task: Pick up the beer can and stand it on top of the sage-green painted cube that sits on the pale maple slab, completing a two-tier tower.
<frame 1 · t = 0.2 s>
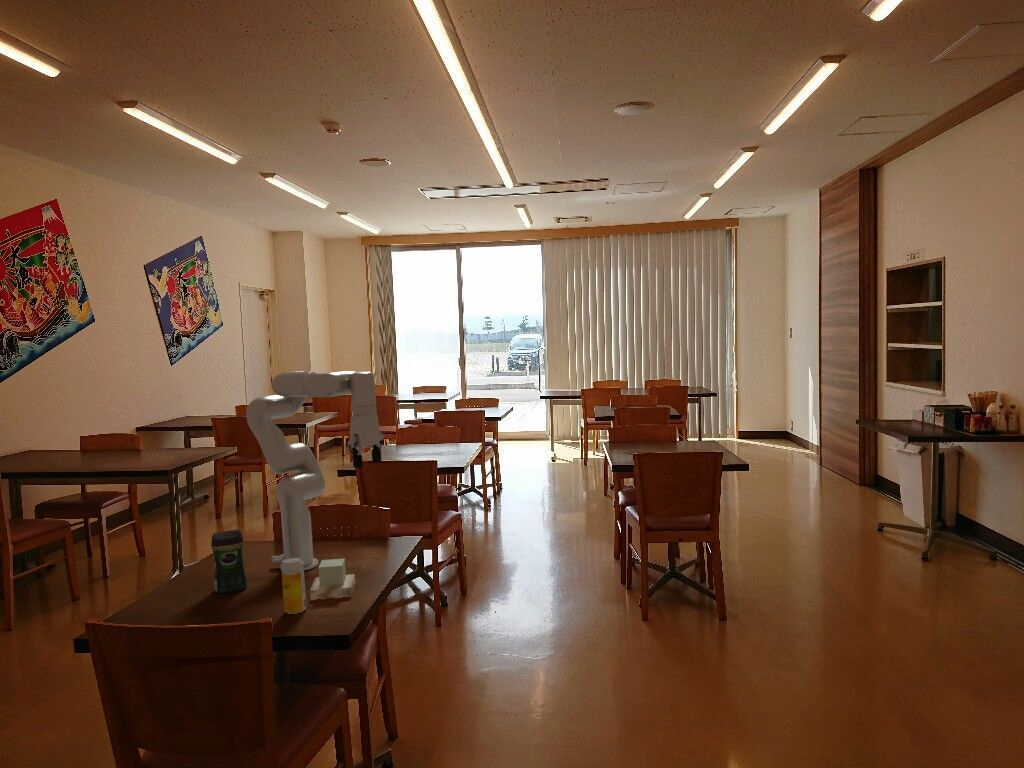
hand: (367, 464, 233), 37 cm above the table, tool pointing down, fingers open, 9 cm apart
coffee jar: (231, 589, 232), on the table
cube: (333, 582, 226), point 3 cm above the table, touching slab
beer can: (295, 612, 211), on the table
slab: (333, 591, 226), on the table
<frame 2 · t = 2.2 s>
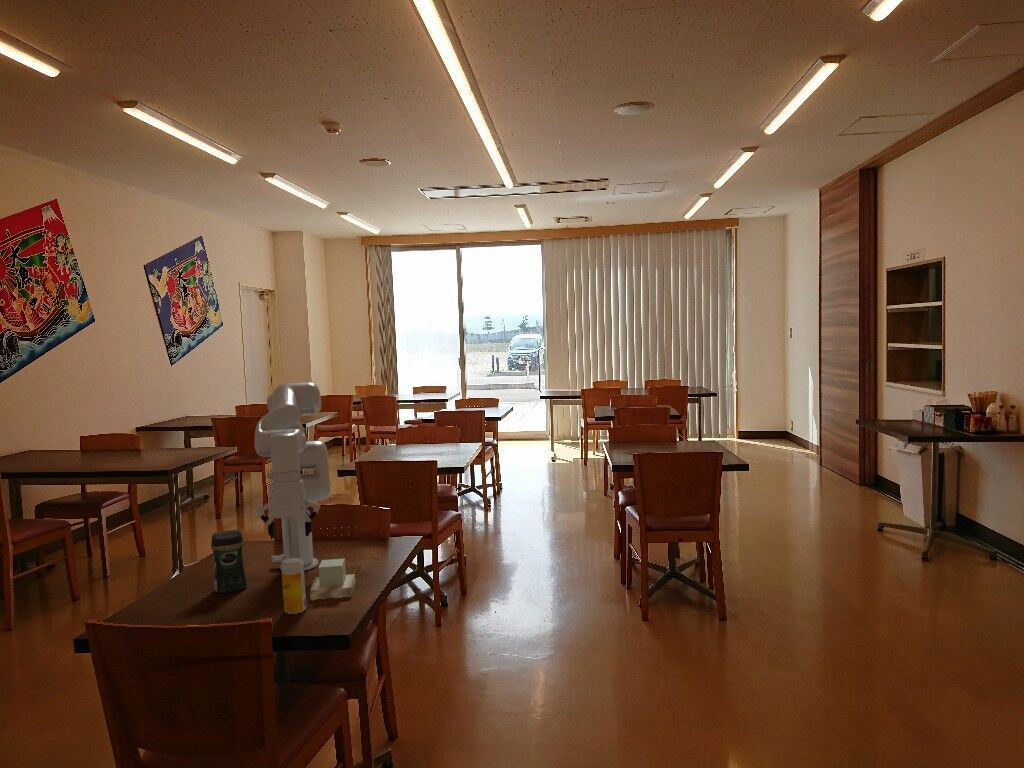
hand: (290, 536, 209), 22 cm above the table, tool pointing down, fingers open, 9 cm apart
nothing on the table moved.
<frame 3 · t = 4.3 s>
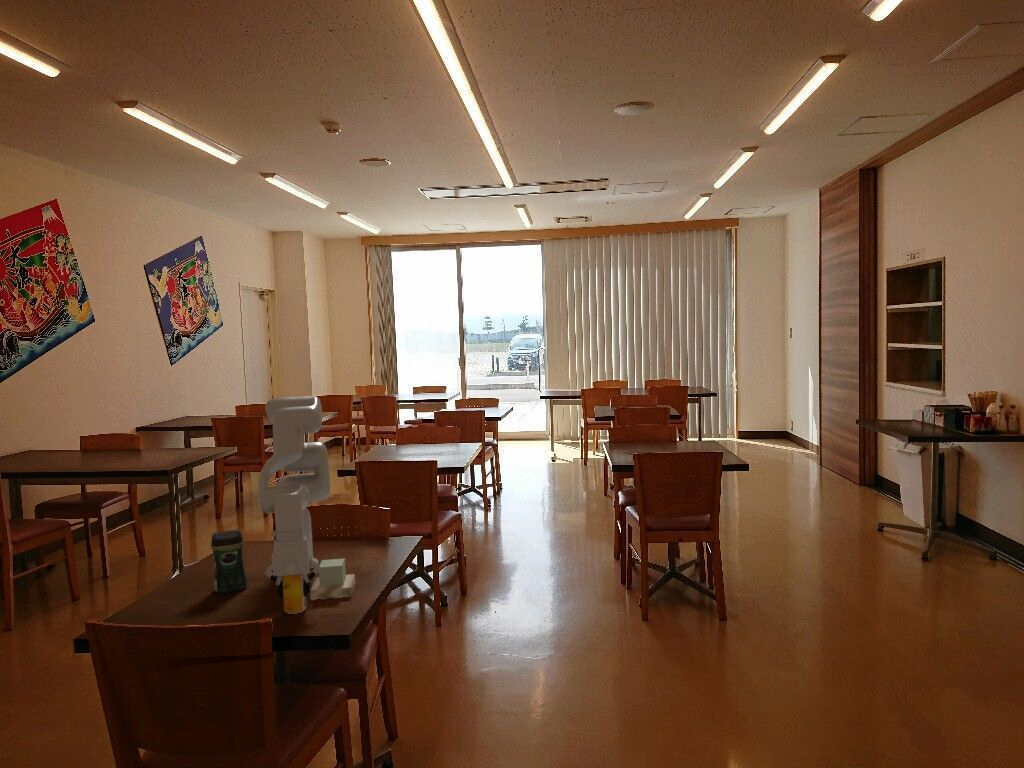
hand: (294, 595, 211), 5 cm above the table, tool pointing down, fingers closed on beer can, 6 cm apart
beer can: (295, 612, 211), on the table, touching gripper
everything else where it was.
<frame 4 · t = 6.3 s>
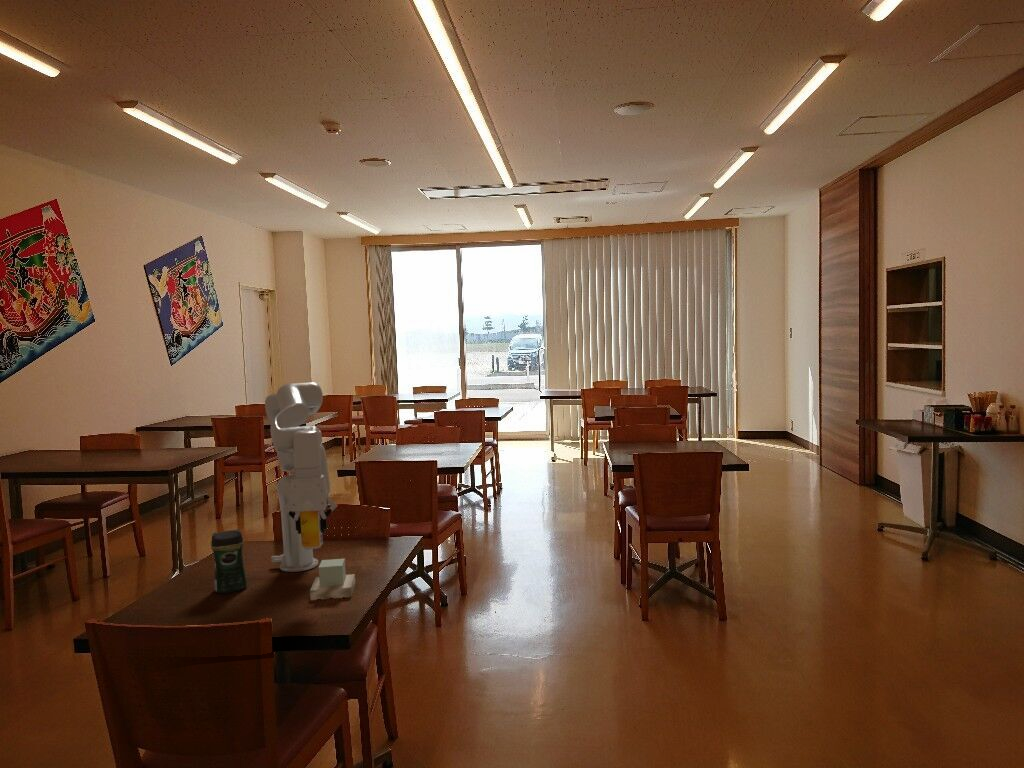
hand: (311, 531, 218), 21 cm above the table, tool pointing down, fingers closed on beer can, 6 cm apart
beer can: (312, 547, 218), point 16 cm above the table, touching gripper
everything else where it was.
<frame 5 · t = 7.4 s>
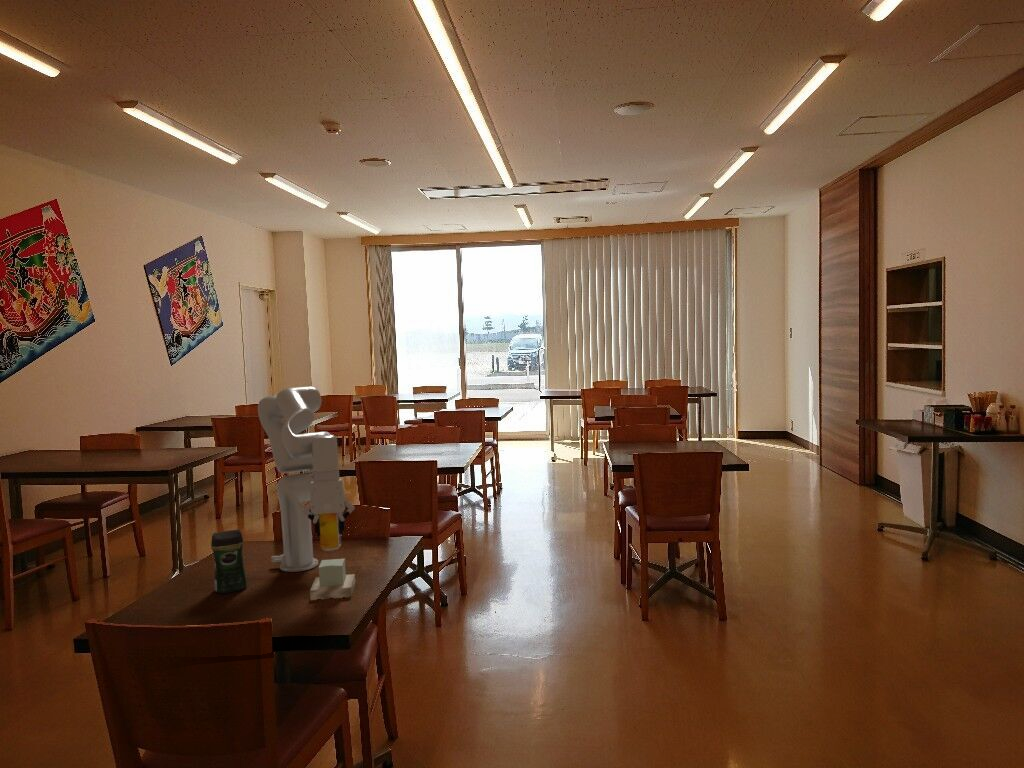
hand: (330, 533, 225), 18 cm above the table, tool pointing down, fingers closed on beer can, 6 cm apart
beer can: (331, 549, 225), point 13 cm above the table, touching gripper
everything else where it was.
when the fingers open (15 cm above the table, at t = 8.4 s): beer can drops 1 cm, resting on cube.
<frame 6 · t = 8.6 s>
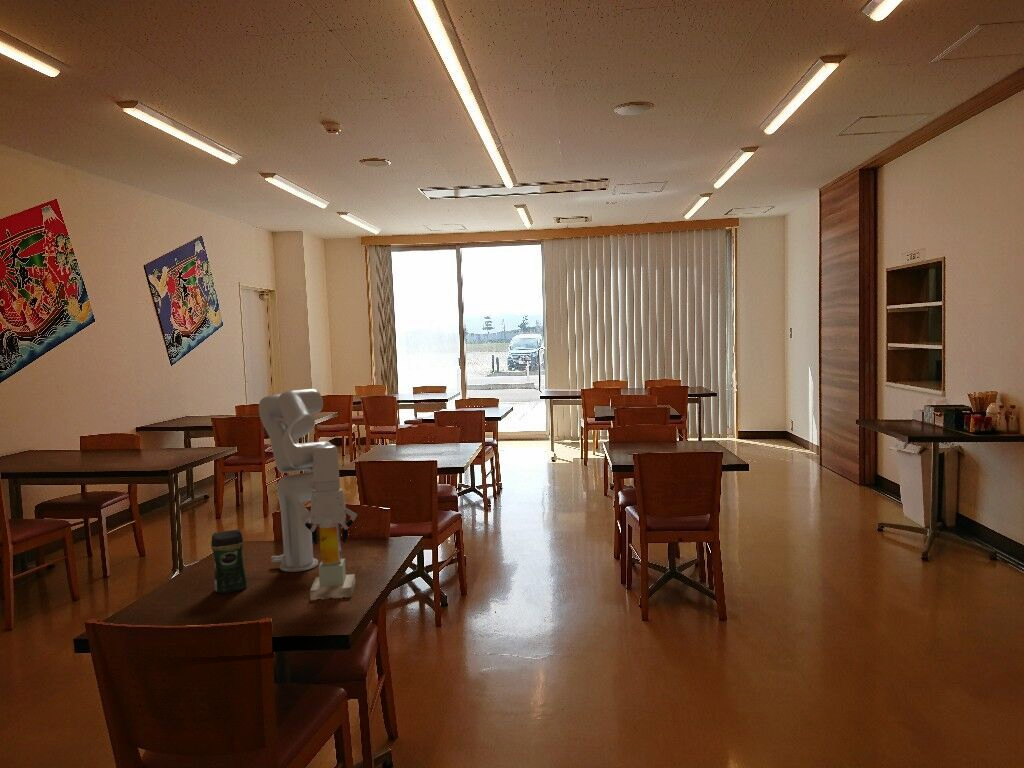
hand: (330, 542, 225), 15 cm above the table, tool pointing down, fingers open, 8 cm apart
cube: (333, 582, 226), point 3 cm above the table, touching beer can, slab
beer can: (331, 563, 225), point 9 cm above the table, touching cube
everything else where it was.
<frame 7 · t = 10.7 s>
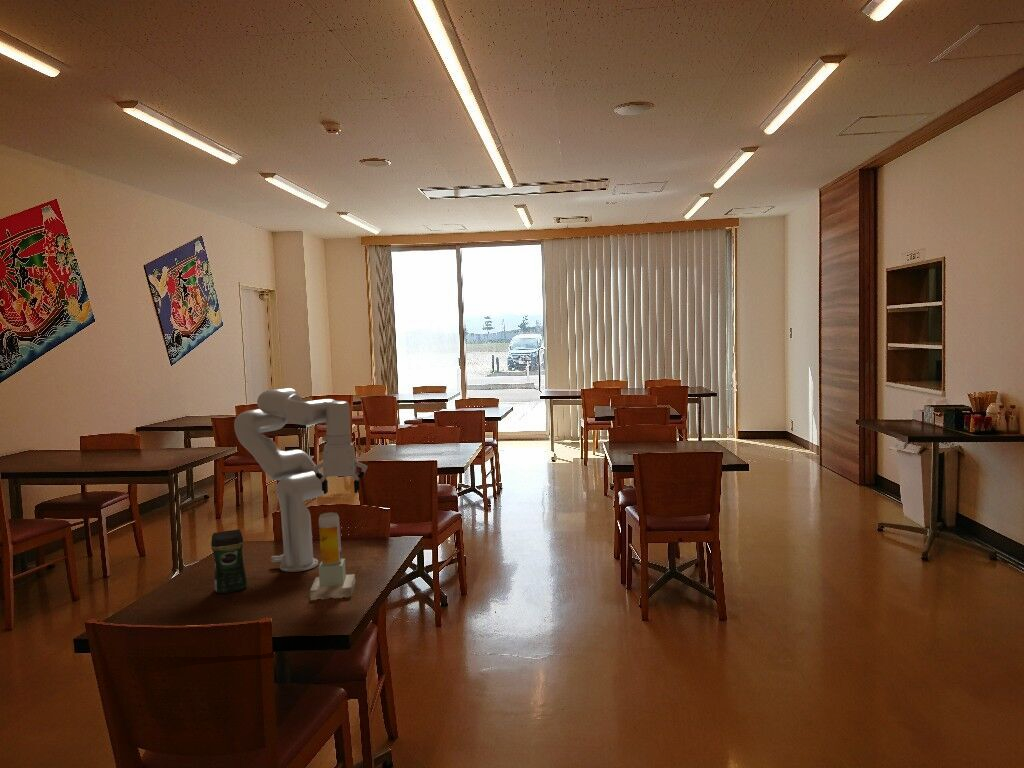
hand: (341, 492, 237), 28 cm above the table, tool pointing down, fingers open, 9 cm apart
nothing on the table moved.
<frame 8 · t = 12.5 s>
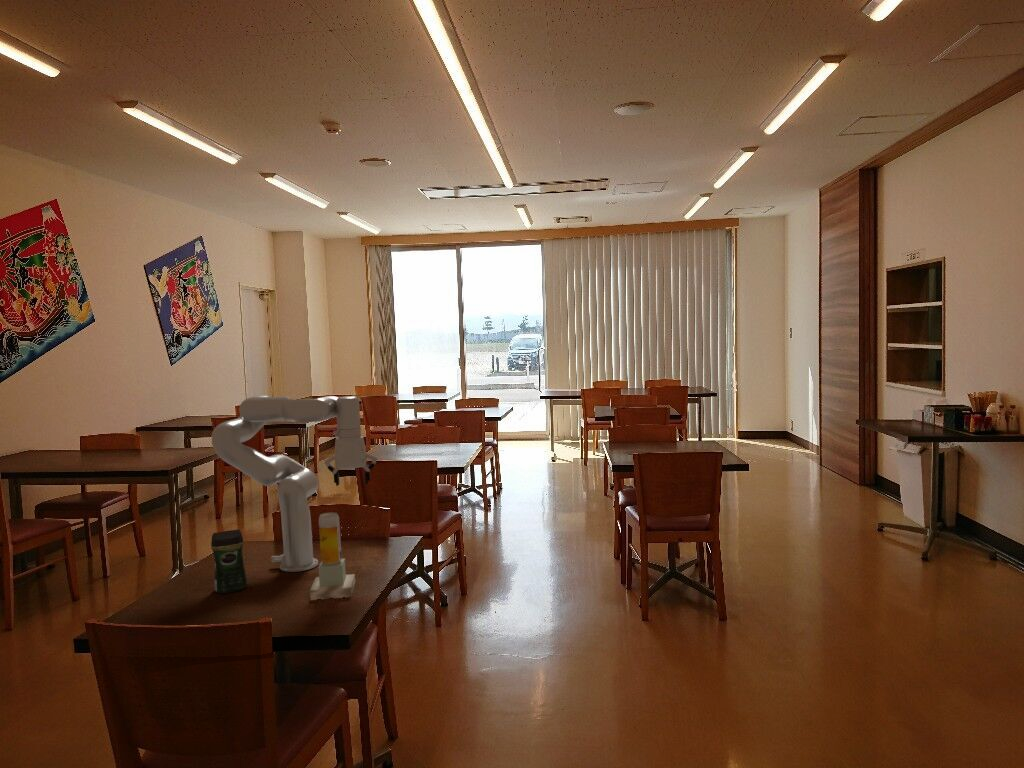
hand: (352, 484, 247), 28 cm above the table, tool pointing down, fingers open, 9 cm apart
nothing on the table moved.
at the end: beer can 0.1 cm off-centre on the cube, point 5.8 cm above the cube's base; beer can tilted 0°; the gripper is holding nothing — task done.
